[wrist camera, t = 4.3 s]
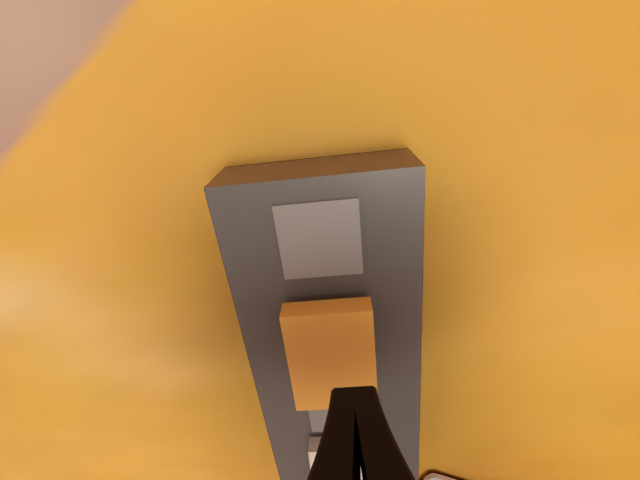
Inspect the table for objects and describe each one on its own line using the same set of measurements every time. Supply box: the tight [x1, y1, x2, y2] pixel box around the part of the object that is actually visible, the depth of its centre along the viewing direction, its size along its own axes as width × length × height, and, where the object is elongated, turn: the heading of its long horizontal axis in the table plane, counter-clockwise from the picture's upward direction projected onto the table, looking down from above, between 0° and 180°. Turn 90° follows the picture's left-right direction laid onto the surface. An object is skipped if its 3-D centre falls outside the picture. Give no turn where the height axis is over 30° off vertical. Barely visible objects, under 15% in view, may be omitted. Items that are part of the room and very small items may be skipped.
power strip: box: [204, 148, 425, 480], centre depth 18 cm, size 20×8×3 cm, turn 6°
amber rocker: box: [279, 296, 378, 411], centre depth 15 cm, size 5×4×1 cm
